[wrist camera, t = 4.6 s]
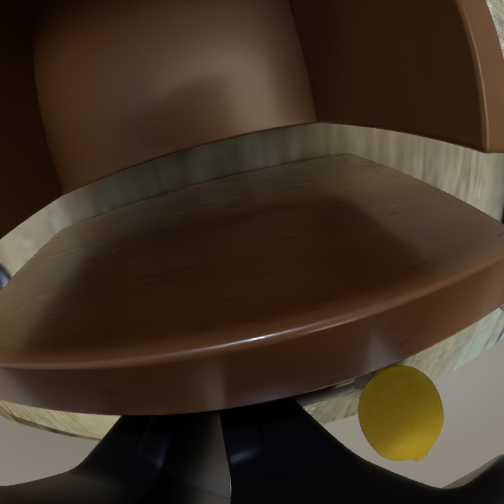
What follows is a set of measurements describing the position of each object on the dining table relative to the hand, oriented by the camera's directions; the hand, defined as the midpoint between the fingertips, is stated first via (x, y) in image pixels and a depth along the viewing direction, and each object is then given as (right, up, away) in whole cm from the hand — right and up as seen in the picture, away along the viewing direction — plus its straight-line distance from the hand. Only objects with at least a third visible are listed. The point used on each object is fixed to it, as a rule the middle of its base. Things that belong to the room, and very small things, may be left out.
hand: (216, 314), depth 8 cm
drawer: (-2, +7, -1) cm, 7 cm away
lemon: (+10, -7, +9) cm, 15 cm away
